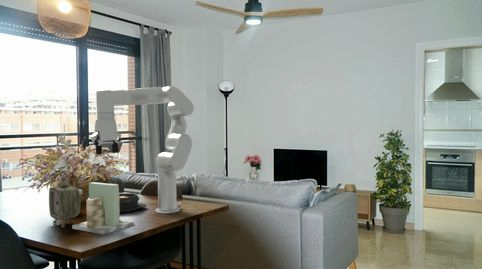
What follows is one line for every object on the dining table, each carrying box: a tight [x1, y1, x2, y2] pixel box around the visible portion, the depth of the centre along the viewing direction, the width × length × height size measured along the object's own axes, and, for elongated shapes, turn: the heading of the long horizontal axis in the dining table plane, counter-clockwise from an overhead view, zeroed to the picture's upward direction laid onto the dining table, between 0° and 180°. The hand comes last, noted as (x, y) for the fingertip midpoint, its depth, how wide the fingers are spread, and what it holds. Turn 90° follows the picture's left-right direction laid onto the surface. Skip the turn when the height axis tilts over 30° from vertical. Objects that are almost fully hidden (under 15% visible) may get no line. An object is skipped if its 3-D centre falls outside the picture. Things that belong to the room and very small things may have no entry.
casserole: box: [119, 192, 148, 214], centre depth 208 cm, size 25×19×8 cm
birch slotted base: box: [71, 198, 136, 235], centre depth 176 cm, size 18×20×14 cm
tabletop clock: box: [48, 170, 81, 229], centre depth 180 cm, size 14×9×25 cm, turn 45°
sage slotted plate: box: [88, 182, 120, 226], centre depth 176 cm, size 3×16×18 cm, turn 60°
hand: (107, 153), depth 180 cm, fingers open, 9 cm apart
